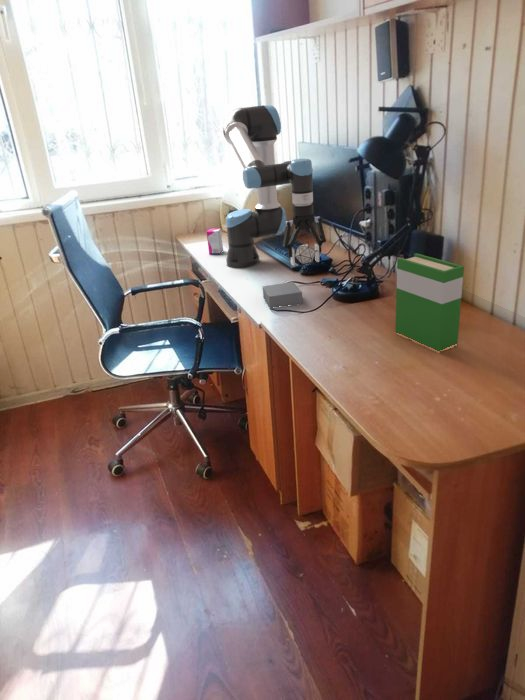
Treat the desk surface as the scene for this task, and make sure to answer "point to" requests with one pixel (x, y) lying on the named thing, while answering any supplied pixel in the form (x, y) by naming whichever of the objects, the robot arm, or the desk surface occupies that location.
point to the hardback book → (429, 300)
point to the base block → (282, 294)
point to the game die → (305, 253)
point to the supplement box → (214, 241)
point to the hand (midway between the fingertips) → (305, 262)
